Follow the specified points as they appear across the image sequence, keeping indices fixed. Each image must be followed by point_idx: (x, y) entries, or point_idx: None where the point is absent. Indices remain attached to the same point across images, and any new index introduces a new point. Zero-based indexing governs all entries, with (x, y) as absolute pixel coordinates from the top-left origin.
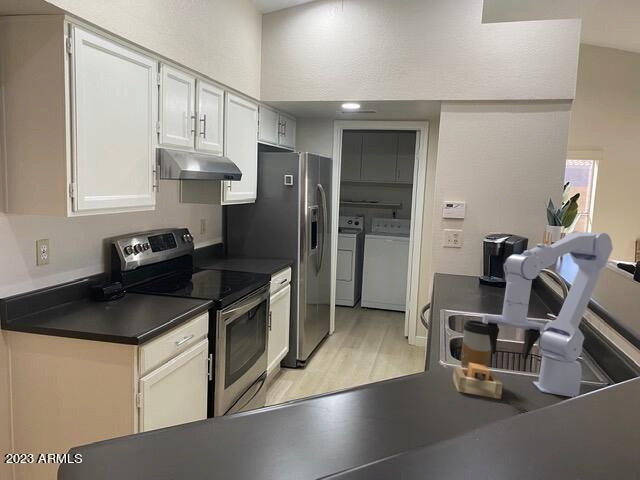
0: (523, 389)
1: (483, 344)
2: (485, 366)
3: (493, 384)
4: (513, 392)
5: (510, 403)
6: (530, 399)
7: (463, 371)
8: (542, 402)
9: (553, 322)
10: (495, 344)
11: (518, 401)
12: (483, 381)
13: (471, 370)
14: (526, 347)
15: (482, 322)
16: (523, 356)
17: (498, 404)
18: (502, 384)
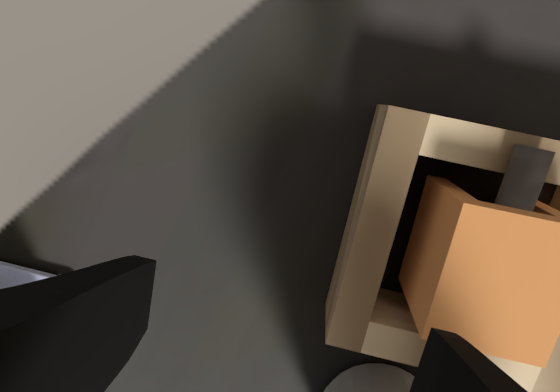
0: (160, 298)
1: None
2: (438, 311)
3: (443, 117)
4: (240, 237)
5: (348, 47)
6: (190, 154)
7: None
8: (141, 127)
9: None
10: (494, 387)
11: (279, 98)
12: (514, 131)
13: None
14: (82, 322)
15: None
16: (145, 298)
17: (439, 3)
18: (387, 109)
